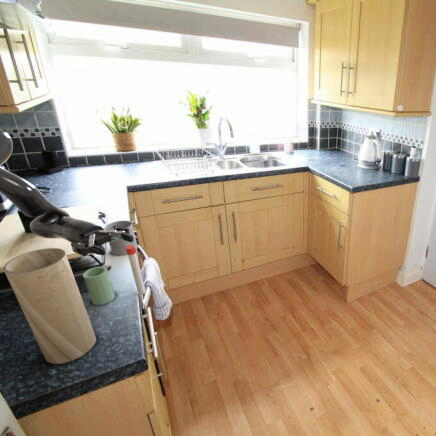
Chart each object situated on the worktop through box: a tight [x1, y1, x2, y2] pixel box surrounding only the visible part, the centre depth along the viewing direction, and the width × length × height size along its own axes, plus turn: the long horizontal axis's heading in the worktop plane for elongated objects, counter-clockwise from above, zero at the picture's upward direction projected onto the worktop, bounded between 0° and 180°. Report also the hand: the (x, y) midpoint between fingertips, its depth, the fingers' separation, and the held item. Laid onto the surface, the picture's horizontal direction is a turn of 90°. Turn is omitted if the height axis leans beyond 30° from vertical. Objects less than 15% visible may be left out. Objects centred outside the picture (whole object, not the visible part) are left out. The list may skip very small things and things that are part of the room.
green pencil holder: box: [82, 266, 116, 306], centre depth 92 cm, size 6×6×10 cm
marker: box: [126, 245, 146, 295], centre depth 94 cm, size 2×2×16 cm
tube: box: [3, 247, 97, 365], centre depth 72 cm, size 10×10×25 cm
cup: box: [104, 220, 139, 256], centre depth 117 cm, size 8×8×10 cm
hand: (118, 245), depth 93 cm, fingers open, 8 cm apart
